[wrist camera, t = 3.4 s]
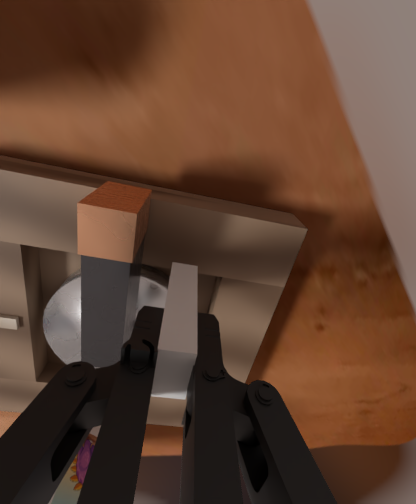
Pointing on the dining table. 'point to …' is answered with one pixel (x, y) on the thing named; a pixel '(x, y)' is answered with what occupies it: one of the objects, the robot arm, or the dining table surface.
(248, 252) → the panel
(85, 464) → the milk bottle
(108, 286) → the dial
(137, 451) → the robot arm
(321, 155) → the dining table surface
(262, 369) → the dining table surface
